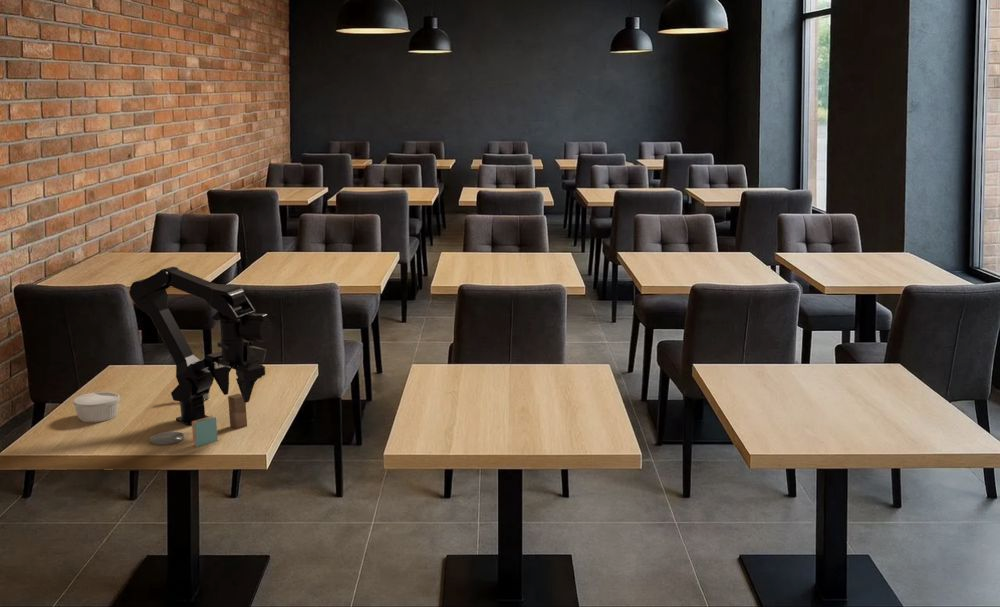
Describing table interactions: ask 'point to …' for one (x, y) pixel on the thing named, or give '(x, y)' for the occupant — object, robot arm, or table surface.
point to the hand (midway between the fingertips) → (236, 398)
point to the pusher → (237, 411)
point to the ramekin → (97, 406)
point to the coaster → (166, 438)
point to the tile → (204, 431)
